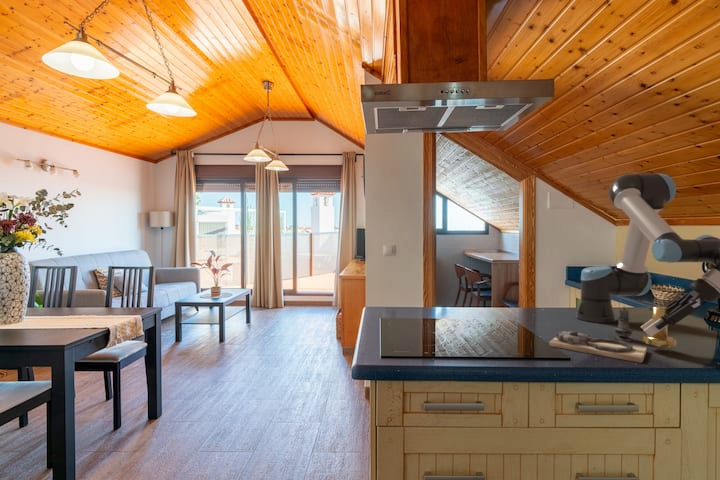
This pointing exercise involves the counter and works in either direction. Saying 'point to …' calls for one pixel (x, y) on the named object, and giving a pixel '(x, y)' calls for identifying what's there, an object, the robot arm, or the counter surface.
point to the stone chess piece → (623, 326)
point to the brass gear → (661, 336)
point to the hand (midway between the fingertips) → (645, 331)
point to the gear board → (598, 346)
